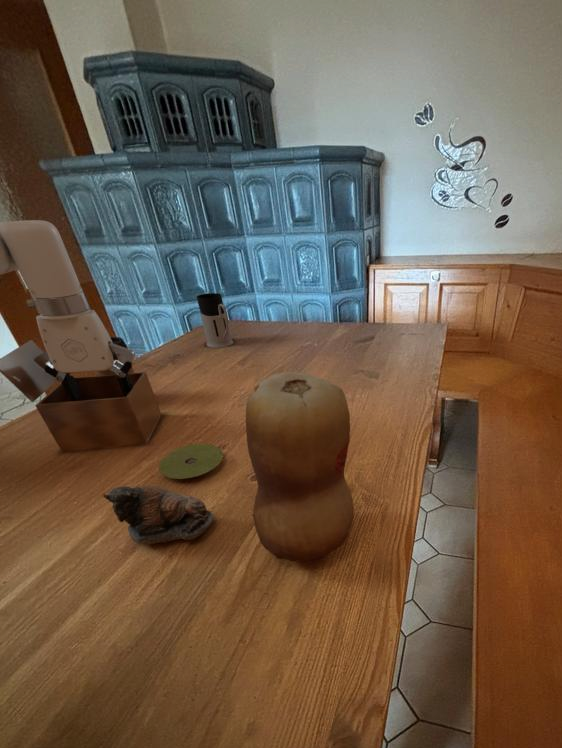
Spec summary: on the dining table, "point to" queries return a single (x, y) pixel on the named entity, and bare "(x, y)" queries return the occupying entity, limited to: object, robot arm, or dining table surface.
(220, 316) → the glass holder
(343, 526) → the butternut squash
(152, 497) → the bison figurine
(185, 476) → the mat
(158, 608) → the dining table surface
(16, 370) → the carton flap
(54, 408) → the carton
